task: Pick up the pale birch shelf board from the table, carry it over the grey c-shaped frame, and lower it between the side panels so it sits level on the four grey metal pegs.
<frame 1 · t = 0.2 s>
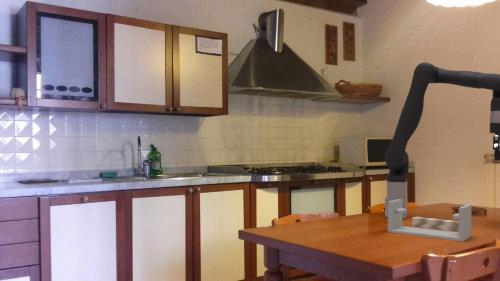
hand: (499, 160, 200), 29 cm above the table, tool pointing down, fingers open, 8 cm apart
grey c-shaped frame: (428, 234, 182), on the table
shelf board: (440, 229, 195), on the table
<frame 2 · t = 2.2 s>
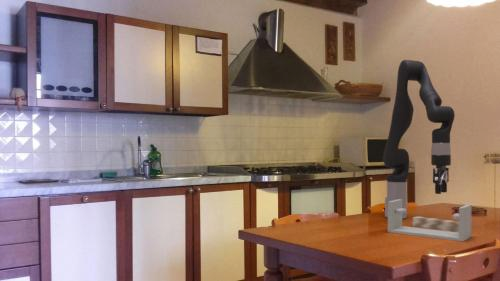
hand: (441, 193, 195), 15 cm above the table, tool pointing down, fingers open, 8 cm apart
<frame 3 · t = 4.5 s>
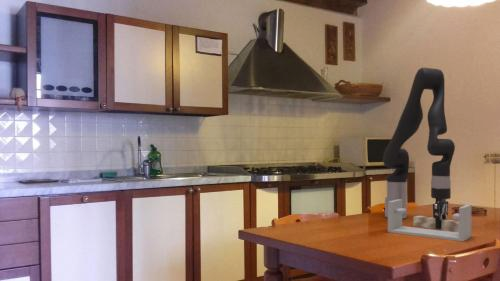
hand: (440, 227, 195), 1 cm above the table, tool pointing down, fingers closed on shelf board, 5 cm apart
shelf board: (440, 229, 195), on the table, touching gripper
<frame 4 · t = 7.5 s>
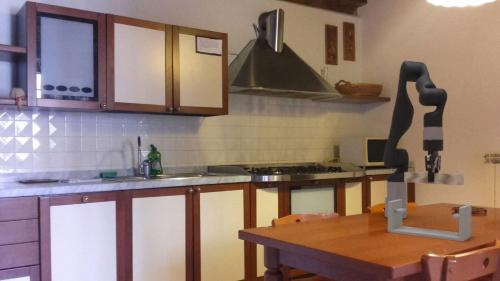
hand: (433, 181, 184), 20 cm above the table, tool pointing down, fingers closed on shelf board, 5 cm apart
shelf board: (432, 183, 184), point 20 cm above the table, touching gripper
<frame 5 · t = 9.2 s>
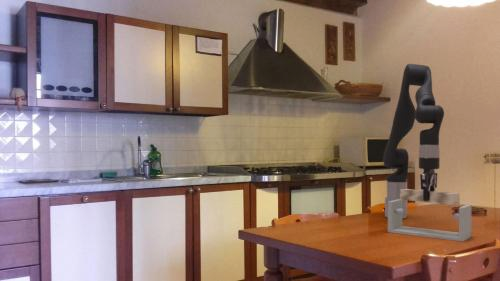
hand: (428, 199, 182), 13 cm above the table, tool pointing down, fingers closed on shelf board, 5 cm apart
shelf board: (428, 201, 182), point 13 cm above the table, touching gripper
when the fingers open (11 cm above the table, at t = 10.7 s): shelf board drops 1 cm, resting on grey c-shaped frame.
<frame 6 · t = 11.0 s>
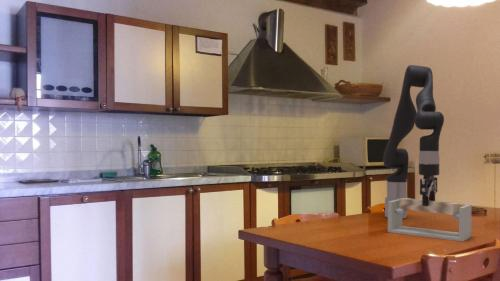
hand: (428, 204, 182), 11 cm above the table, tool pointing down, fingers open, 8 cm apart
shelf board: (428, 211, 182), point 9 cm above the table, touching grey c-shaped frame
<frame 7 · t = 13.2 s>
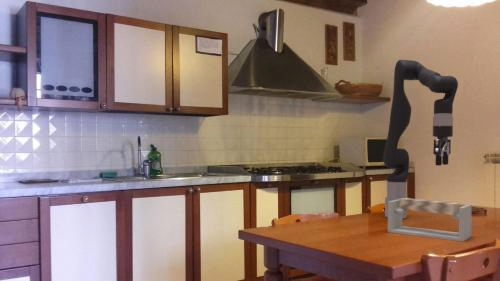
hand: (441, 165, 191), 27 cm above the table, tool pointing down, fingers open, 8 cm apart
nothing on the table moved.
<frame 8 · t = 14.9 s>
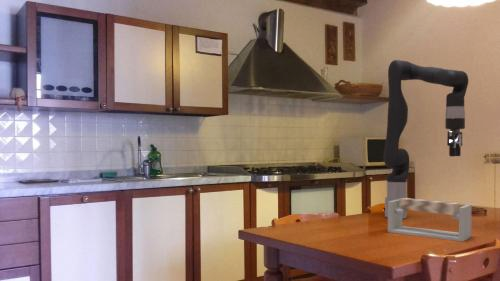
hand: (454, 156, 198), 30 cm above the table, tool pointing down, fingers open, 8 cm apart
nothing on the table moved.
at the end: shelf board 0.2 cm off-centre on the grey c-shaped frame, point 8.9 cm above the grey c-shaped frame's base; shelf board tilted 0°; the gripper is holding nothing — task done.
